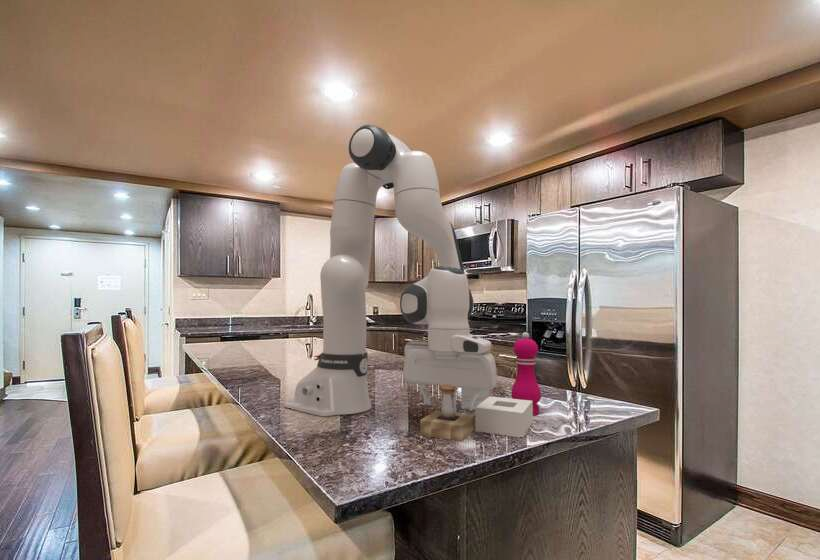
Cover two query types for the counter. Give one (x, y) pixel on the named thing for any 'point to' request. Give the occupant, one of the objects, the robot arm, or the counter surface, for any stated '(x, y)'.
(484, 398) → the supplement box
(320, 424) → the counter surface
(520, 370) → the pepper mill
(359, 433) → the counter surface
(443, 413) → the pin
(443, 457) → the counter surface
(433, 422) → the mount
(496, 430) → the dock
